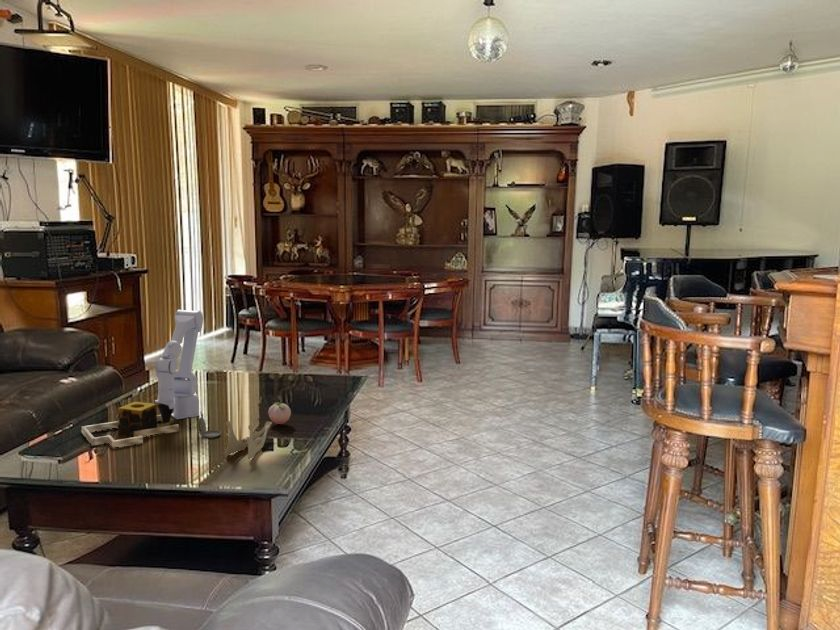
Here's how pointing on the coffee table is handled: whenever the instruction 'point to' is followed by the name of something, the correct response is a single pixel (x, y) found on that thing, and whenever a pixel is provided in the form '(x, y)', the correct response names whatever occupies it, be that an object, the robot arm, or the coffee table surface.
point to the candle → (137, 417)
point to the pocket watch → (203, 429)
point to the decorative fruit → (279, 413)
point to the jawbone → (246, 440)
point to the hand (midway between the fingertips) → (166, 422)
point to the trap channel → (127, 441)
